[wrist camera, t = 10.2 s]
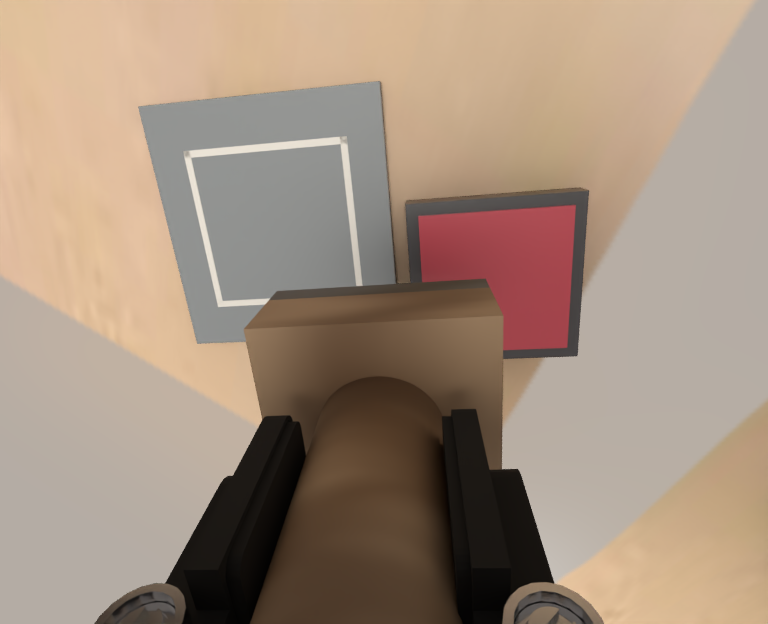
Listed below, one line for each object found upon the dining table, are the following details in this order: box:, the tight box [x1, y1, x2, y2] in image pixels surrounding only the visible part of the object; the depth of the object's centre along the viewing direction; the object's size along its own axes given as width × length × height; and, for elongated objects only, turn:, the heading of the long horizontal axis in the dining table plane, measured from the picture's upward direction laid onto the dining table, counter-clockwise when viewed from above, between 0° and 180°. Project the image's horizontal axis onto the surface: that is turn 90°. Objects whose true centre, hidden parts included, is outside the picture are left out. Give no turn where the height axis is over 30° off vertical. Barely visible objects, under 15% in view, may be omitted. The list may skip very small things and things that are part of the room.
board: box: [138, 81, 396, 344], centre depth 29 cm, size 14×15×1 cm
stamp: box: [244, 278, 503, 624], centre depth 9 cm, size 6×6×11 cm
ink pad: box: [405, 188, 589, 359], centre depth 28 cm, size 10×10×2 cm
